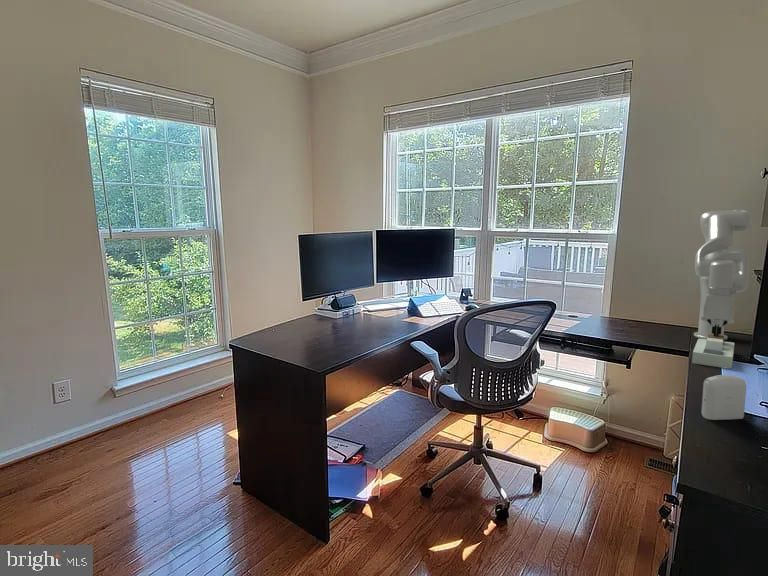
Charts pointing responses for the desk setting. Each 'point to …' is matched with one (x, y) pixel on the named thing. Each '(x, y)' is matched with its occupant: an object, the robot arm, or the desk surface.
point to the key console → (713, 355)
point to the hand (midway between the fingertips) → (716, 335)
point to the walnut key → (716, 336)
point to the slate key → (713, 350)
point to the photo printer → (723, 397)
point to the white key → (714, 342)
